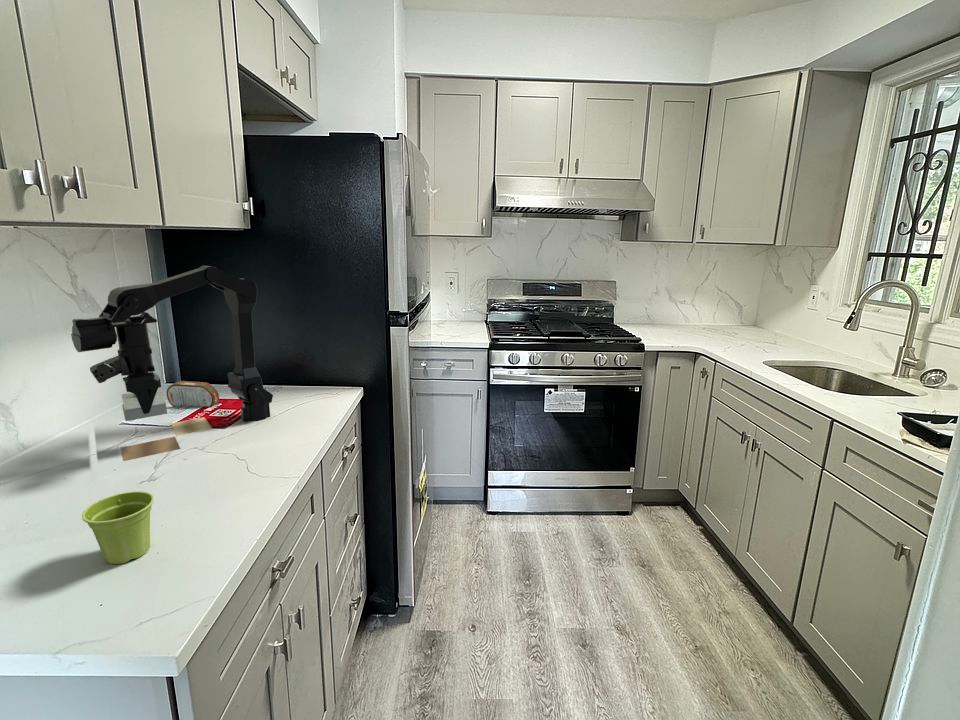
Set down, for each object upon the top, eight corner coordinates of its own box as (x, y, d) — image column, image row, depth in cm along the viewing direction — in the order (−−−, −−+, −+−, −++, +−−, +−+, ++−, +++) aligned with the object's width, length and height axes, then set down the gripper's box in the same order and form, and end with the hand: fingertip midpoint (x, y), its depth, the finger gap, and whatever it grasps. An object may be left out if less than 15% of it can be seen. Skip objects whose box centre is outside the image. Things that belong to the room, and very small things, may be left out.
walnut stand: (175, 442, 124) (174, 436, 123) (181, 454, 117) (180, 448, 116) (121, 453, 117) (120, 447, 117) (124, 467, 110) (123, 460, 110)
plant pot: (76, 572, 76) (65, 522, 74) (116, 536, 85) (108, 491, 83) (139, 571, 77) (130, 521, 74) (172, 535, 86) (165, 490, 84)
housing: (123, 414, 114) (120, 394, 113) (164, 407, 119) (161, 387, 118) (125, 421, 110) (121, 399, 109) (167, 413, 115) (164, 393, 114)
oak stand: (205, 422, 137) (204, 417, 136) (212, 433, 129) (212, 428, 129) (171, 428, 132) (170, 423, 131) (177, 440, 124) (176, 435, 124)
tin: (221, 408, 147) (218, 381, 145) (214, 412, 144) (211, 385, 142) (174, 406, 149) (170, 379, 147) (166, 410, 146) (162, 382, 144)
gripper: (87, 341, 113) (100, 406, 116) (90, 357, 98) (103, 430, 102) (146, 335, 119) (155, 397, 123) (156, 350, 105) (166, 419, 109)
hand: (145, 410), depth 114 cm, fingers closed on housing, 5 cm apart
